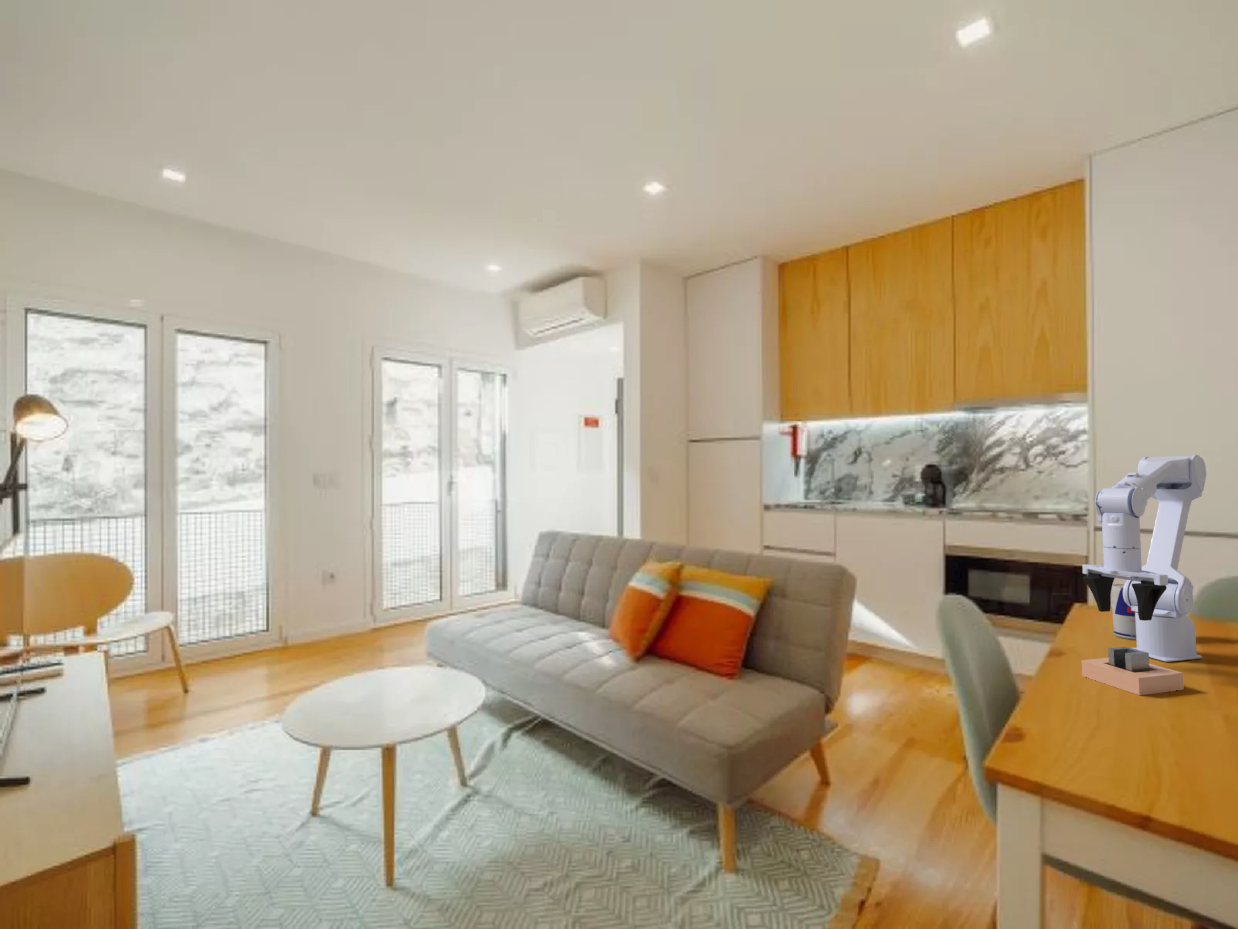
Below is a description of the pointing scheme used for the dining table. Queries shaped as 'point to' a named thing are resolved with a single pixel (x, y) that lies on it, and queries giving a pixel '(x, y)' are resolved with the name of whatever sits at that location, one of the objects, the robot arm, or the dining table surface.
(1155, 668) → the well
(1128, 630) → the energy drink
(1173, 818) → the dining table surface
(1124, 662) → the bracket
